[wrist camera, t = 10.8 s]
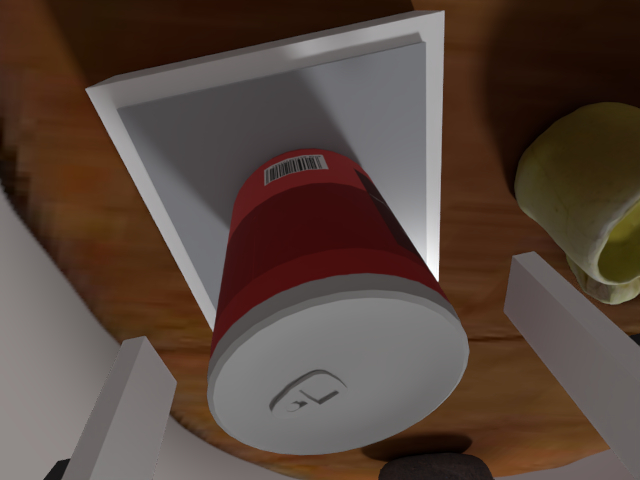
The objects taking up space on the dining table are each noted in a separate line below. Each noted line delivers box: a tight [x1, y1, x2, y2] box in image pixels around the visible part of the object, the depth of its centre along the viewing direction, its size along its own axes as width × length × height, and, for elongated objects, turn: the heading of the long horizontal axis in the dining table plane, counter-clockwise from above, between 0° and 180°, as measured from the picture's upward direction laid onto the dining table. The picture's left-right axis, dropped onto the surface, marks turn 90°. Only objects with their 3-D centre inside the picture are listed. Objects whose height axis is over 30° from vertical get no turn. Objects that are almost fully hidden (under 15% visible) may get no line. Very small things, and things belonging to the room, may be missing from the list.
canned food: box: [207, 148, 469, 455], centre depth 15 cm, size 8×8×11 cm
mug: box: [514, 102, 640, 304], centre depth 22 cm, size 12×10×10 cm
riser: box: [85, 11, 445, 331], centre depth 21 cm, size 16×16×4 cm
